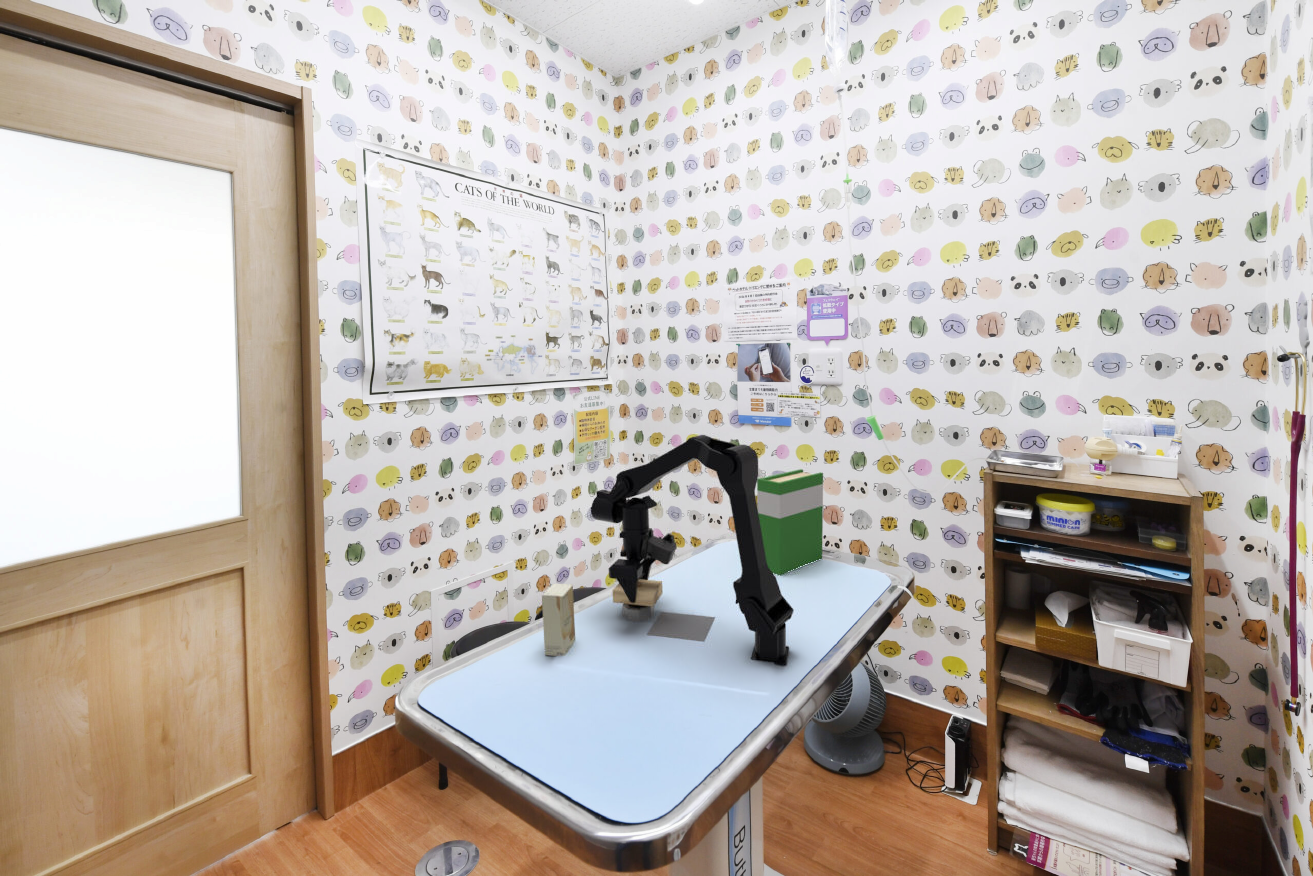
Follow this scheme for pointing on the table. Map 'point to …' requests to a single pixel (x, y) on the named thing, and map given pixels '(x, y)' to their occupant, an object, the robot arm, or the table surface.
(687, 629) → the mat
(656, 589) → the lid
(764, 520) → the hardback book
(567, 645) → the skincare box
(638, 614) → the bowl
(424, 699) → the table surface
